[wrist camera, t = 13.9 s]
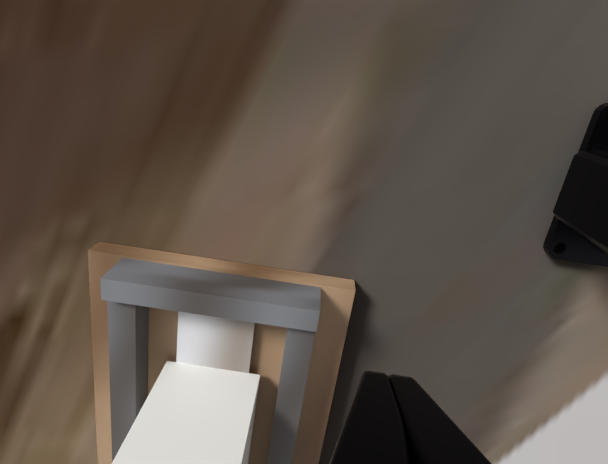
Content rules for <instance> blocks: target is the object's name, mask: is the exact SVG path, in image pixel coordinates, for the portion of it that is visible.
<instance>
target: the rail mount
mask: <svg viewBox="0 0 608 464" xmlns="http://www.w3.org/2000/svg"><path fill="white" fill-rule="evenodd" d="M88 265H89V286H90V307H91V328H92V349H93V370H94V391H95V412H96V433H97V455H98V464H112V462H113V460H114V458H115V456H116V455H117V453H118V451H119V449H120V447H121V445H122V443H123V442H124V440H125V438H126V436H127V434H128V432H129V430H130V429H131V427H132V425H133V423H134V421H135V419H136V417H137V416H138V414H139V412H140V410H141V408H142V406H143V404H144V403H145V401H146V399H147V397H148V395H149V393H150V391H151V390H152V388H153V386H154V384H155V382H156V380H157V378H158V377H159V375H160V373H161V371H162V369H163V367H164V365H165V364H166V362H167V361H171V362H178V363H185V364H191V365H198V366H205V367H211V368H218V369H225V370H231V371H238V372H244V373H251V374H258V375H260V380H259V388H258V395H257V403H256V410H255V418H254V425H253V433H252V440H251V448H250V455H249V463H248V464H319V460H320V455H321V450H322V446H323V441H324V436H325V432H326V427H327V422H328V418H329V413H330V408H331V403H332V399H333V394H334V389H335V385H336V380H337V375H338V371H339V366H340V361H341V357H342V352H343V347H344V342H345V338H346V333H347V328H348V324H349V319H350V314H351V310H352V305H353V300H354V296H355V291H356V290H355V282H354V280H351V279H344V278H337V277H331V276H324V275H317V274H311V273H304V272H297V271H291V270H284V269H277V268H271V267H264V266H258V265H251V264H244V263H238V262H231V261H224V260H218V259H211V258H204V257H198V256H191V255H184V254H178V253H171V252H164V251H158V250H151V249H144V248H138V247H131V246H124V245H118V244H111V243H104V242H98V243H97V244H95V245H94V246H93V247H91V248H90V249H89V250H88Z"/></svg>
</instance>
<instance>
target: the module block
mask: <svg viewBox="0 0 608 464" xmlns="http://www.w3.org/2000/svg"><path fill="white" fill-rule="evenodd" d="M259 380H260V375H258V374H251V373H244V372H238V371H231V370H225V369H218V368H211V367H205V366H198V365H191V364H185V363H178V362H171V361H167V362H166V364H165V365H164V367H163V369H162V371H161V373H160V375H159V377H158V378H157V380H156V382H155V384H154V386H153V388H152V390H151V391H150V393H149V395H148V397H147V399H146V401H145V403H144V404H143V406H142V408H141V410H140V412H139V414H138V416H137V417H136V419H135V421H134V423H133V425H132V427H131V429H130V430H129V432H128V434H127V436H126V438H125V440H124V442H123V443H122V445H121V447H120V449H119V451H118V453H117V455H116V456H115V458H114V460H113V462H112V464H248V463H249V455H250V448H251V440H252V433H253V425H254V418H255V410H256V403H257V395H258V388H259Z"/></svg>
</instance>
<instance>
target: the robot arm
mask: <svg viewBox="0 0 608 464" xmlns="http://www.w3.org/2000/svg"><path fill="white" fill-rule="evenodd" d="M607 113H608V103H604V104H602V105H600V106H599V107H598V108H597V109H596V110H595V111H594V113H593V115H592V118H591V120H590V123H589V126H588V128H587V131H586V134H585V136H584V139H583V142H582V144H581V147H580V149H579V152H578V153H577V154H576V155H575V156H574V157H573V160H572V162H571V165H570V168H569V170H568V173H567V176H566V178H565V181H564V184H563V186H562V189H561V192H560V194H559V197H558V200H557V202H556V205H555V208H554V210H553V213H554V218H553V220H552V223H551V226H550V228H549V231H548V234H547V236H546V239H545V242H544V246H543V248H544V251H545V252H546V253H547V254H548V255H549V256H551V257H552V258H555V259H560V260H567V261H573V262H580V263H587V264H593V265H600V266H607V267H608V122H606V121H605V116H606V114H607ZM558 243H561V246H560V248H559V249H557V250H554V247H555V245H556V244H558ZM329 464H491V463H490V462H489V460H488V459H487V458H486V457H485V456H484V455H483V454H482V453H481V452H480V451H479V450H478V448H477V447H476V446H475V445H474V444H473V443H472V442H471V441H470V440H469V439H468V438H467V436H466V435H465V434H464V433H463V432H462V431H461V430H460V429H459V428H458V427H457V426H456V424H455V423H454V422H453V421H452V420H451V419H450V418H449V417H448V416H447V415H446V413H445V412H444V411H443V410H442V409H441V408H440V407H439V406H438V405H437V404H436V403H435V401H434V400H433V399H432V398H431V397H430V396H429V395H428V394H427V393H426V392H425V391H424V389H423V388H422V387H421V386H420V385H419V384H418V383H417V382H416V381H415V380H414V379H413V378H411V377H406V376H399V375H393V374H392V375H389V376H387V375H386V374H384V373H379V372H373V371H364V372H363V374H362V376H361V379H360V381H359V384H358V387H357V389H356V392H355V395H354V397H353V400H352V403H351V406H350V408H349V411H348V414H347V416H346V419H345V422H344V424H343V427H342V430H341V433H340V435H339V438H338V441H337V443H336V446H335V449H334V451H333V454H332V457H331V460H330V462H329Z"/></svg>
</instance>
